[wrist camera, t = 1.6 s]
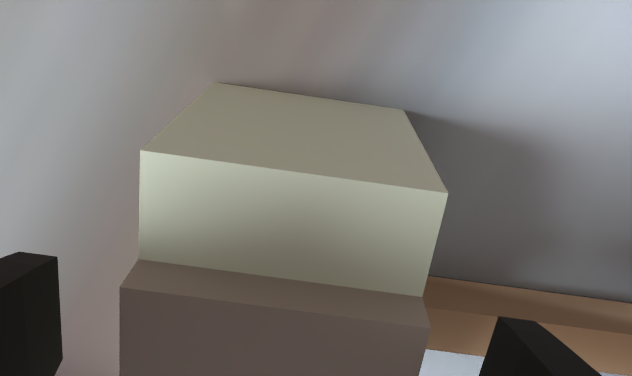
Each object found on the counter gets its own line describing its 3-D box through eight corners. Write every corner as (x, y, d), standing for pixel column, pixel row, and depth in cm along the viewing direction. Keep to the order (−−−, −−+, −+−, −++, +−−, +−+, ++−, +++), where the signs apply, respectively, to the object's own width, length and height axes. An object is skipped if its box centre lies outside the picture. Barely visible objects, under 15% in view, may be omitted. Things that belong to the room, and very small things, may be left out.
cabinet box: (359, 318, 15) (378, 525, 9) (199, 297, 15) (119, 494, 9) (403, 108, 13) (461, 216, 7) (213, 81, 12) (119, 169, 7)
